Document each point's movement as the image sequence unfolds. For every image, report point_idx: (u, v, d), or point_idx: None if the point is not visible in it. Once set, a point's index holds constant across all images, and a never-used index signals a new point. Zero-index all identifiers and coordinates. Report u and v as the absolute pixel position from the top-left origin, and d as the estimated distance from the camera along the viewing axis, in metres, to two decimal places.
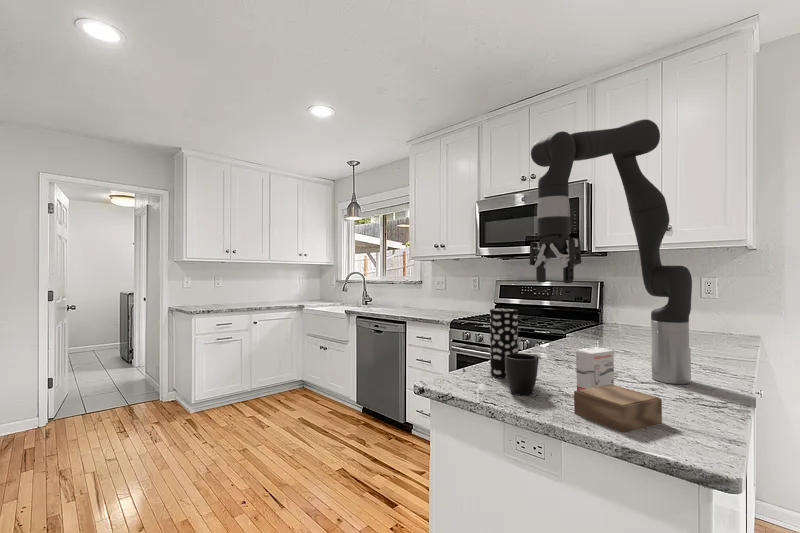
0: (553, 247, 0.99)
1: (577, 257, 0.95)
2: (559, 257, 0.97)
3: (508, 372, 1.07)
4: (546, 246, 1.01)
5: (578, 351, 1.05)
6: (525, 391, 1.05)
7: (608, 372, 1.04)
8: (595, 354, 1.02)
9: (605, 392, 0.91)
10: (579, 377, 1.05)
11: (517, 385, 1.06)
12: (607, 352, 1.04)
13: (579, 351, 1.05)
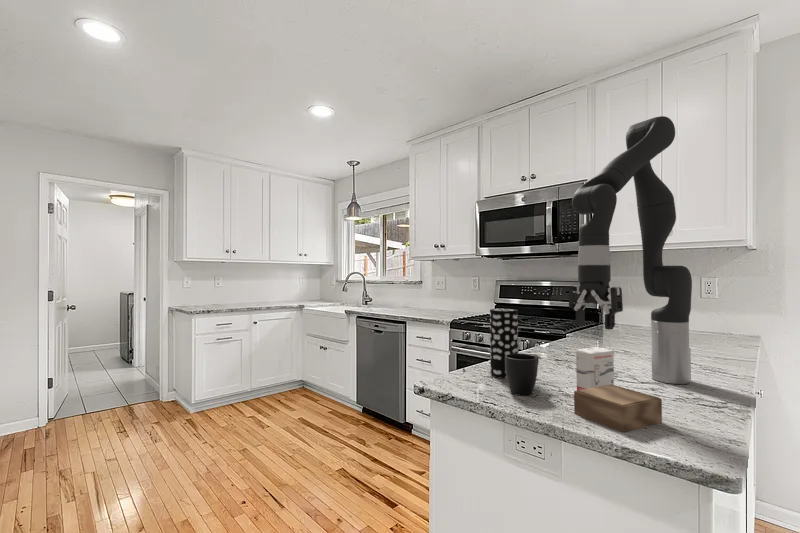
0: (594, 294, 1.03)
1: (619, 305, 1.00)
2: (601, 304, 1.02)
3: (508, 372, 1.07)
4: (587, 292, 1.05)
5: (578, 351, 1.05)
6: (525, 391, 1.05)
7: (608, 372, 1.04)
8: (595, 354, 1.02)
9: (605, 392, 0.91)
10: (579, 377, 1.05)
11: (517, 385, 1.06)
12: (607, 352, 1.04)
13: (579, 351, 1.05)
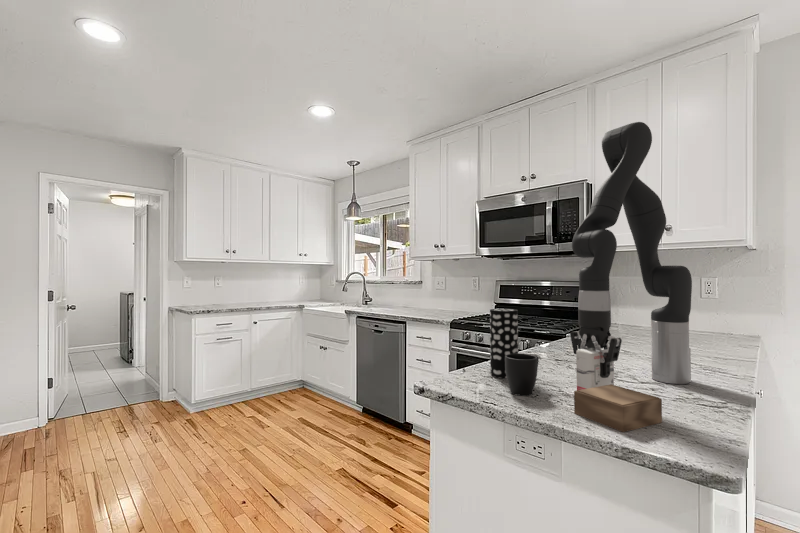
0: (594, 340, 1.03)
1: (615, 354, 1.01)
2: (598, 352, 1.02)
3: (508, 372, 1.07)
4: (587, 336, 1.05)
5: (578, 351, 1.05)
6: (525, 391, 1.05)
7: None
8: (595, 354, 1.02)
9: (605, 392, 0.91)
10: (579, 377, 1.05)
11: (517, 385, 1.06)
12: None
13: (579, 351, 1.05)
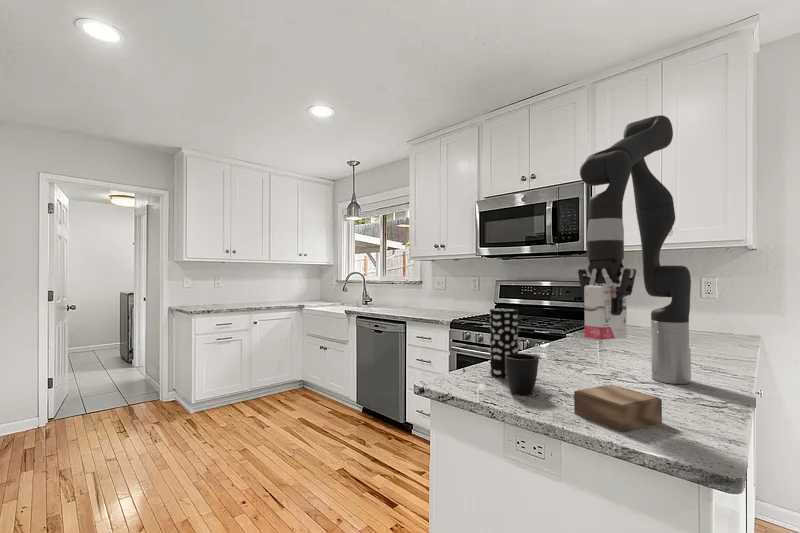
0: (605, 273, 0.92)
1: (628, 288, 0.90)
2: (609, 286, 0.92)
3: (508, 372, 1.07)
4: (597, 270, 0.95)
5: (586, 287, 0.94)
6: (525, 391, 1.05)
7: None
8: (606, 288, 0.91)
9: (605, 392, 0.91)
10: (587, 315, 0.94)
11: (517, 385, 1.06)
12: None
13: (588, 286, 0.94)
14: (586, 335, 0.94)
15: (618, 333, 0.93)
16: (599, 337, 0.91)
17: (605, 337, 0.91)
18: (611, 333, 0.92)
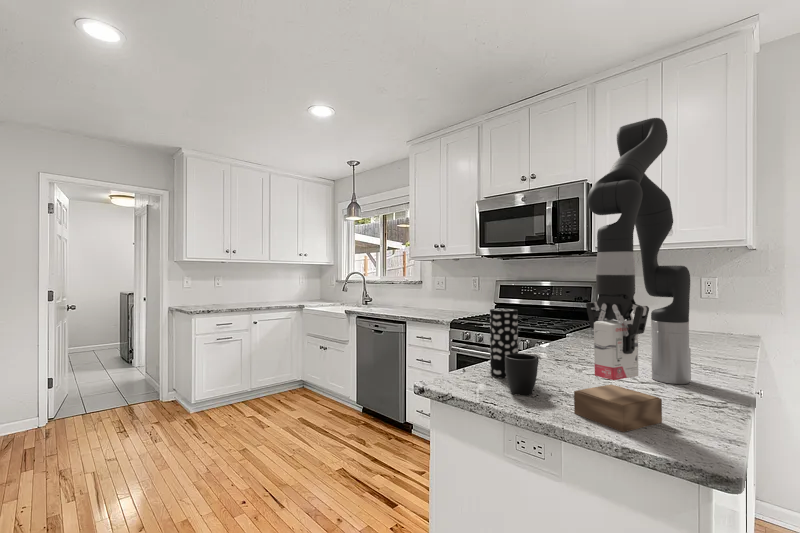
0: (616, 310, 0.88)
1: (640, 326, 0.85)
2: (620, 323, 0.87)
3: (508, 372, 1.07)
4: (607, 305, 0.90)
5: (596, 323, 0.89)
6: (525, 391, 1.05)
7: None
8: (617, 326, 0.87)
9: (605, 392, 0.91)
10: (597, 353, 0.89)
11: (517, 385, 1.06)
12: None
13: (597, 323, 0.89)
14: (596, 374, 0.89)
15: (630, 372, 0.88)
16: (611, 378, 0.86)
17: (617, 377, 0.86)
18: (623, 373, 0.87)
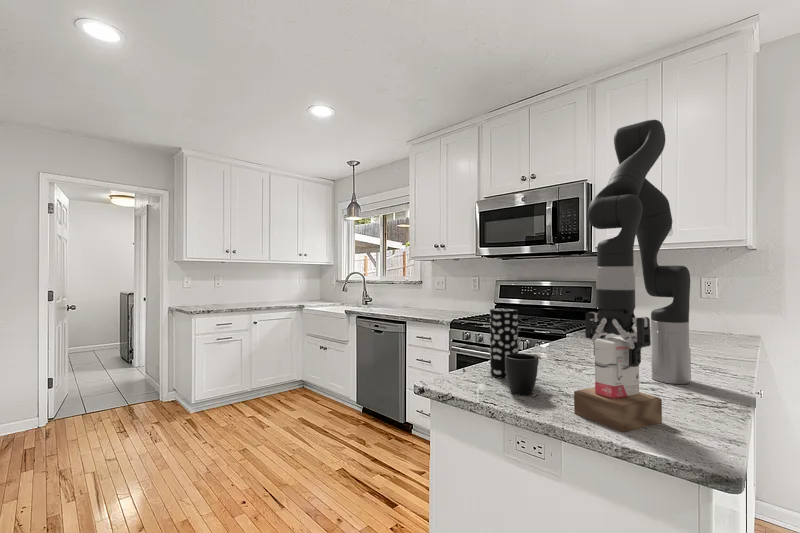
0: (617, 324, 0.87)
1: (646, 338, 0.84)
2: (624, 336, 0.86)
3: (508, 372, 1.07)
4: (607, 320, 0.90)
5: (597, 341, 0.89)
6: (525, 391, 1.05)
7: None
8: (617, 344, 0.87)
9: None
10: (597, 371, 0.89)
11: (517, 385, 1.06)
12: None
13: (598, 341, 0.89)
14: (597, 392, 0.89)
15: (631, 390, 0.88)
16: (611, 396, 0.86)
17: (617, 396, 0.86)
18: (623, 391, 0.87)
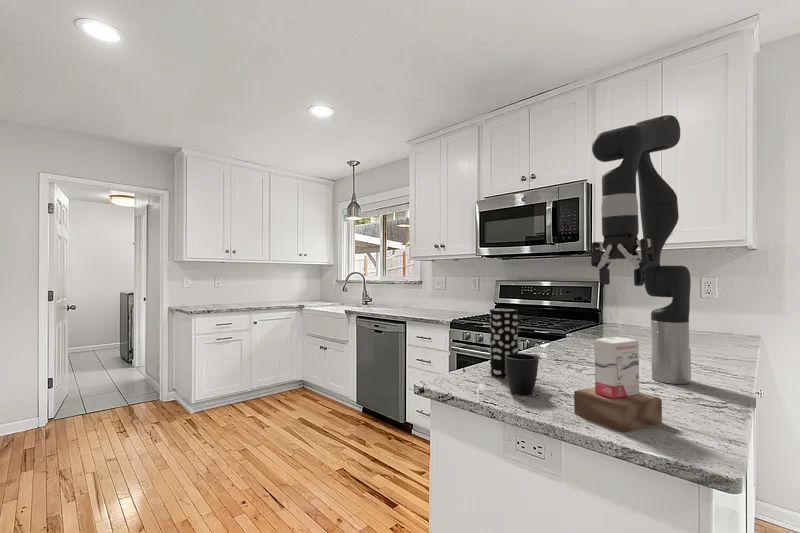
0: (622, 248, 0.93)
1: (649, 258, 0.90)
2: (629, 258, 0.92)
3: (508, 372, 1.07)
4: (612, 247, 0.96)
5: (597, 341, 0.89)
6: (525, 391, 1.05)
7: (633, 366, 0.88)
8: (617, 344, 0.87)
9: None
10: (597, 371, 0.89)
11: (517, 385, 1.06)
12: (631, 342, 0.89)
13: (598, 341, 0.89)
14: (597, 392, 0.89)
15: (631, 390, 0.88)
16: (611, 396, 0.86)
17: (617, 396, 0.86)
18: (623, 391, 0.87)
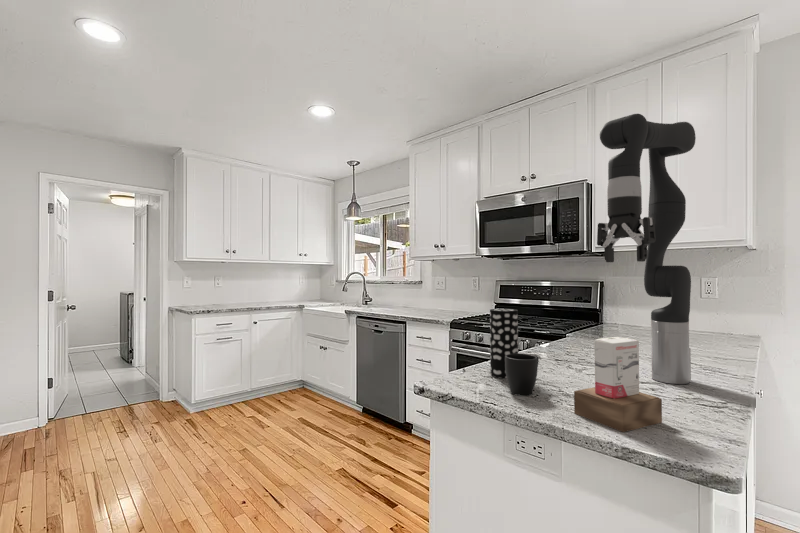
0: (626, 226, 1.01)
1: (651, 235, 0.98)
2: (632, 236, 0.99)
3: (508, 372, 1.07)
4: (617, 226, 1.03)
5: (597, 341, 0.89)
6: (525, 391, 1.05)
7: (633, 366, 0.88)
8: (617, 344, 0.87)
9: None
10: (597, 371, 0.89)
11: (517, 385, 1.06)
12: (631, 342, 0.89)
13: (598, 341, 0.89)
14: (597, 392, 0.89)
15: (631, 390, 0.88)
16: (611, 396, 0.86)
17: (617, 396, 0.86)
18: (623, 391, 0.87)
